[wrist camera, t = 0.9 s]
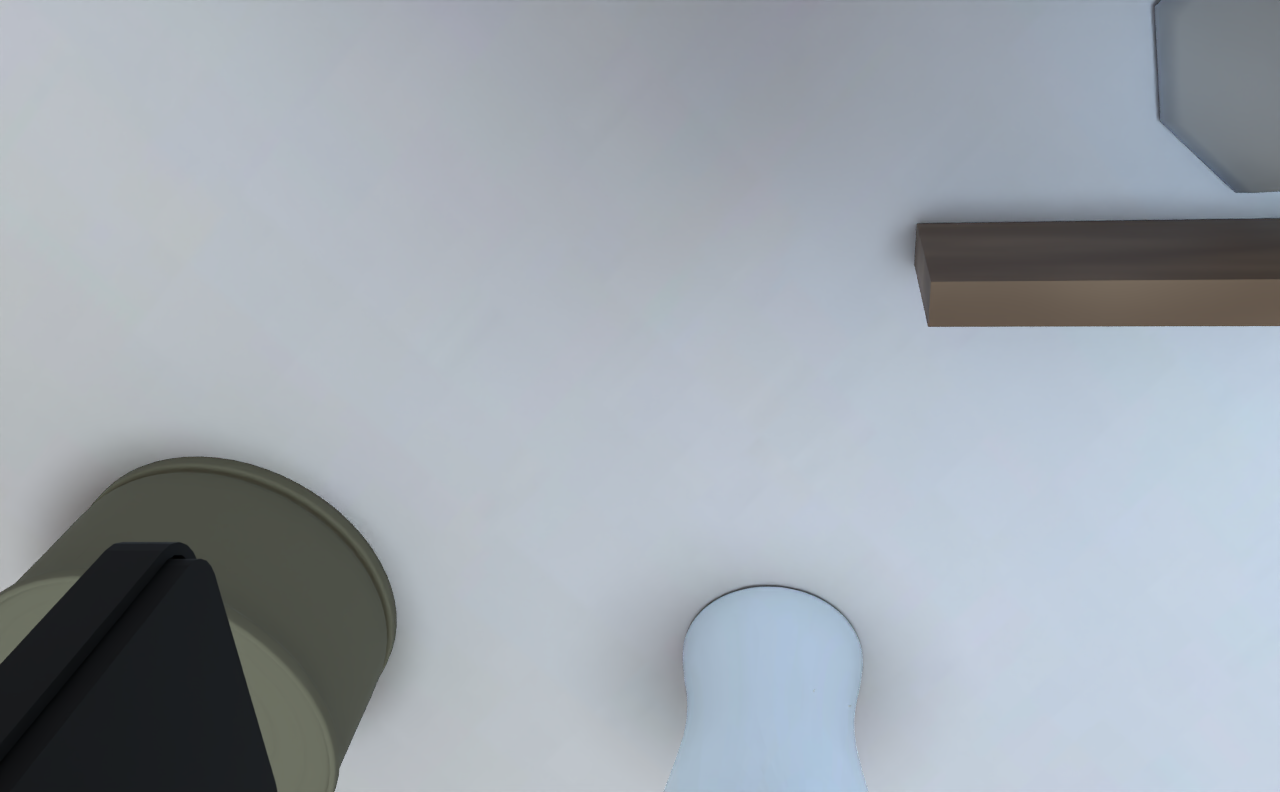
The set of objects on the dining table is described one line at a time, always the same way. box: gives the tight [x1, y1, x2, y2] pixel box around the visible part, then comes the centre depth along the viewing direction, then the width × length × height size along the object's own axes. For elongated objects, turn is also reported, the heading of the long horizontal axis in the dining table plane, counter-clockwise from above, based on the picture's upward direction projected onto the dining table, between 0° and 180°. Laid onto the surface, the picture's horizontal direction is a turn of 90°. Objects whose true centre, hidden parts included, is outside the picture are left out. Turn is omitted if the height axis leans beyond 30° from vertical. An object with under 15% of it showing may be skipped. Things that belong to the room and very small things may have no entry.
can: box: [0, 457, 396, 792], centre depth 38 cm, size 12×12×7 cm
